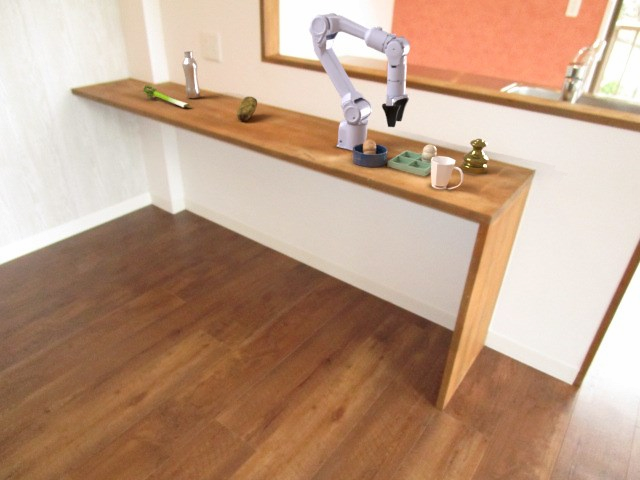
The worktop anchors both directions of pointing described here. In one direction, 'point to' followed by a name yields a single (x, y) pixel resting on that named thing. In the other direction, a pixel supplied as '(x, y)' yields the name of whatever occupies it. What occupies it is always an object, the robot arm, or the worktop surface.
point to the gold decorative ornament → (475, 158)
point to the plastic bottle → (191, 75)
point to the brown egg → (369, 147)
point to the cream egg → (428, 153)
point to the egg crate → (410, 163)
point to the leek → (163, 96)
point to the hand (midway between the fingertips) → (394, 123)
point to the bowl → (370, 156)
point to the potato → (246, 108)
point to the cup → (443, 171)
